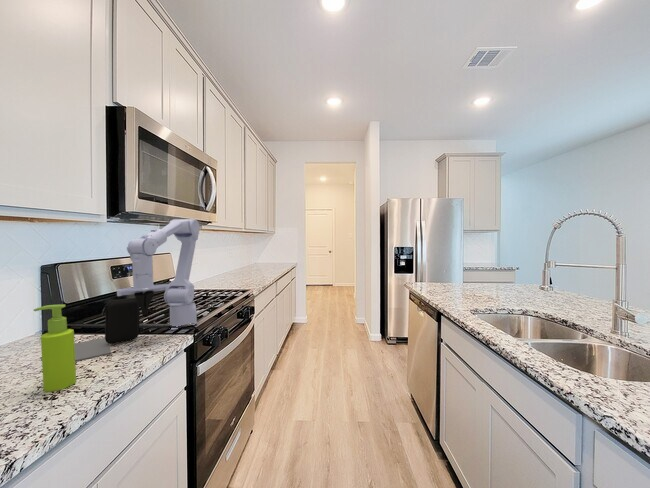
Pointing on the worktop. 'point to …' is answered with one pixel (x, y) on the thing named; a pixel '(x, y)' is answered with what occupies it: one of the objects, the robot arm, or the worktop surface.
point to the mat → (91, 349)
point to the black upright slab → (121, 320)
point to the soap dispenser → (57, 352)
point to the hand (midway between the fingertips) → (144, 314)
